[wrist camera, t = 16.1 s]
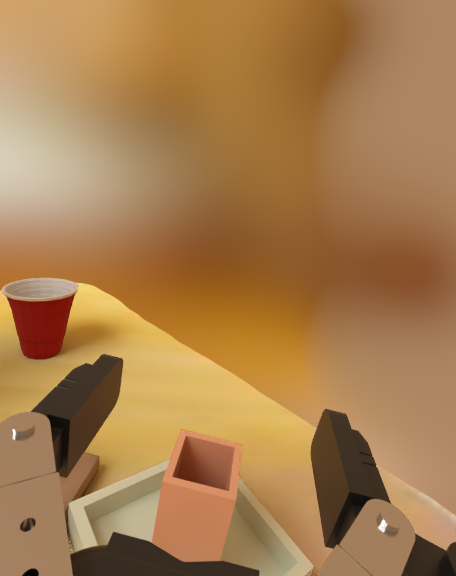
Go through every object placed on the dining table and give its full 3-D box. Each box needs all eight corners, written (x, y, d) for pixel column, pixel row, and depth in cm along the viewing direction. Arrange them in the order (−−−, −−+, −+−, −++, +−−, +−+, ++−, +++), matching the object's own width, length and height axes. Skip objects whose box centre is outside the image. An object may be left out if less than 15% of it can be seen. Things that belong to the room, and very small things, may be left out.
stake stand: (-116, 554, 27) (-130, 479, 24) (-2, 444, 38) (-4, 386, 36) (24, 593, 26) (24, 520, 24) (98, 469, 38) (103, 412, 35)
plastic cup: (38, 329, 63) (39, 269, 60) (88, 345, 61) (92, 284, 58) (-15, 355, 53) (-18, 285, 49) (43, 375, 51) (45, 303, 47)
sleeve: (145, 580, 28) (162, 481, 25) (167, 509, 34) (183, 422, 31) (210, 597, 28) (236, 500, 24) (220, 522, 34) (242, 436, 30)
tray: (67, 528, 31) (68, 503, 30) (205, 462, 41) (209, 441, 40) (138, 759, 20) (144, 731, 19) (304, 591, 30) (314, 566, 29)
